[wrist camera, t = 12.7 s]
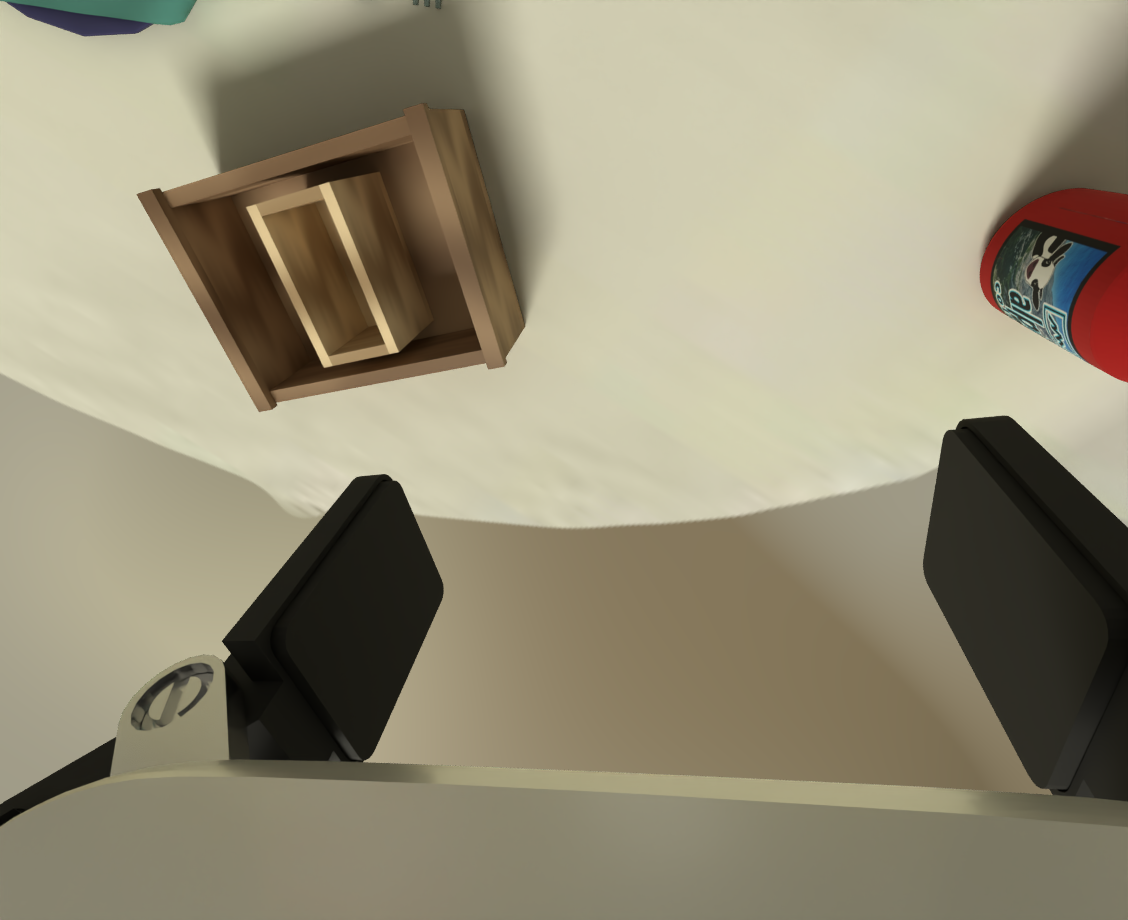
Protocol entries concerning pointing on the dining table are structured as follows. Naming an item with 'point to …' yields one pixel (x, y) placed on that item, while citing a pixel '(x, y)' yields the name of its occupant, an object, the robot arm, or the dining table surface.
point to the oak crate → (345, 268)
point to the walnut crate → (429, 226)
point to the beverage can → (1066, 273)
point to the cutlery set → (111, 14)
